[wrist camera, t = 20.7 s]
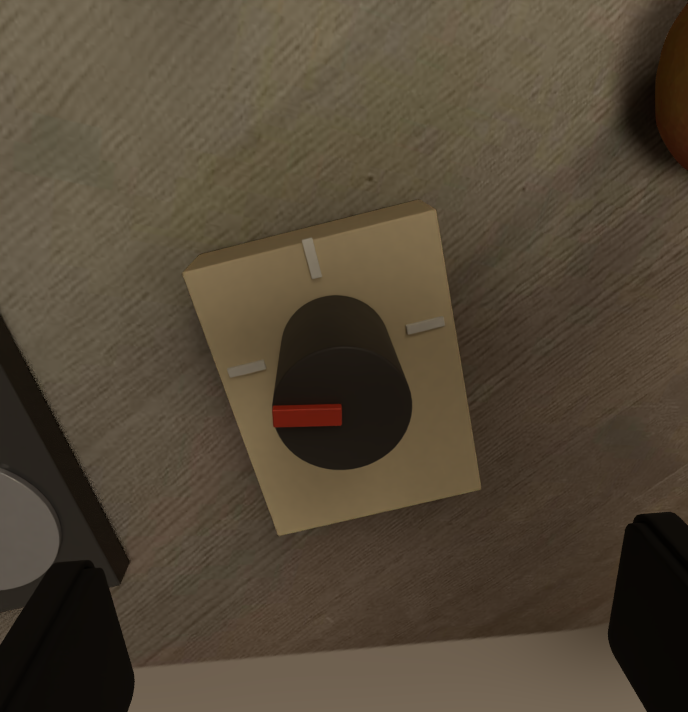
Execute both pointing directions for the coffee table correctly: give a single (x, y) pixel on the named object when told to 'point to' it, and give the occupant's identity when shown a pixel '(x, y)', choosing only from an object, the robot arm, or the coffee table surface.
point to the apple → (674, 90)
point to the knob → (339, 386)
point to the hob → (42, 492)
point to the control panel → (406, 330)
